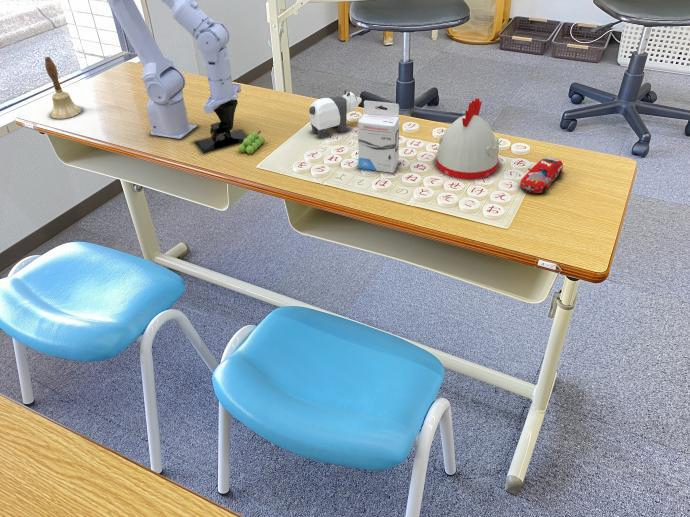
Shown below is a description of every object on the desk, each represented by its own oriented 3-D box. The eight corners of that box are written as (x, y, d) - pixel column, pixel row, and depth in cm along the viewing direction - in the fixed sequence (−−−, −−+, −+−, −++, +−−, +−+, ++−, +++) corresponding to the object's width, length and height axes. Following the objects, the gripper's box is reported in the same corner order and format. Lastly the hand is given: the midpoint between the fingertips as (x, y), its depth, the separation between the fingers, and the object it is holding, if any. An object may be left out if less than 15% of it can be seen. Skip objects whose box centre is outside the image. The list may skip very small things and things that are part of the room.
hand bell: (87, 110, 169) (69, 54, 159) (63, 121, 163) (43, 64, 154) (69, 105, 172) (50, 50, 163) (44, 115, 167) (23, 59, 157)
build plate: (203, 153, 145) (200, 136, 142) (193, 142, 150) (190, 126, 147) (250, 140, 149) (247, 123, 147) (239, 130, 155) (236, 113, 152)
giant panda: (316, 140, 148) (314, 104, 142) (307, 132, 152) (304, 96, 146) (366, 126, 153) (366, 90, 148) (356, 118, 157) (355, 84, 152)
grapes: (237, 153, 144) (235, 140, 142) (254, 138, 150) (252, 125, 148) (252, 155, 143) (250, 142, 141) (268, 140, 149) (266, 127, 147)
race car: (539, 198, 123) (542, 182, 120) (515, 190, 126) (517, 174, 123) (566, 173, 131) (569, 157, 128) (543, 166, 133) (546, 150, 131)
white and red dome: (506, 158, 137) (515, 96, 128) (483, 184, 128) (490, 120, 119) (451, 145, 143) (456, 85, 134) (425, 169, 134) (429, 107, 125)
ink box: (357, 169, 136) (356, 108, 127) (363, 159, 139) (362, 99, 130) (393, 173, 133) (394, 112, 124) (399, 163, 137) (400, 103, 128)
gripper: (218, 89, 136) (227, 143, 144) (248, 68, 147) (255, 119, 155) (192, 86, 138) (203, 139, 147) (223, 65, 149) (232, 116, 157)
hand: (228, 128), depth 151 cm, fingers closed
